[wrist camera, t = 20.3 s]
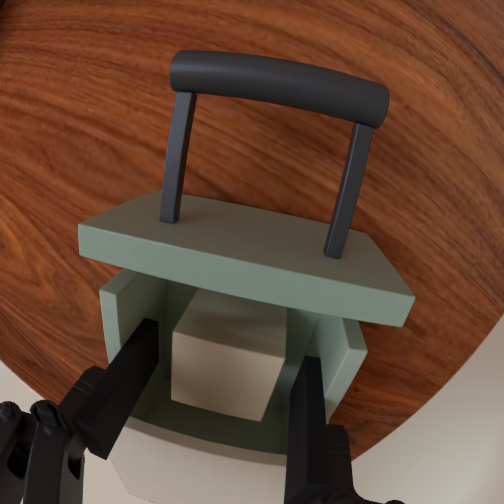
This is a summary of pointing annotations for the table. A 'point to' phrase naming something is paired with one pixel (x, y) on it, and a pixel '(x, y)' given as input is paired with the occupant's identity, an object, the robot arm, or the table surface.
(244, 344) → the block
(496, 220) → the table surface
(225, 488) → the cabinet
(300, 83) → the drawer
